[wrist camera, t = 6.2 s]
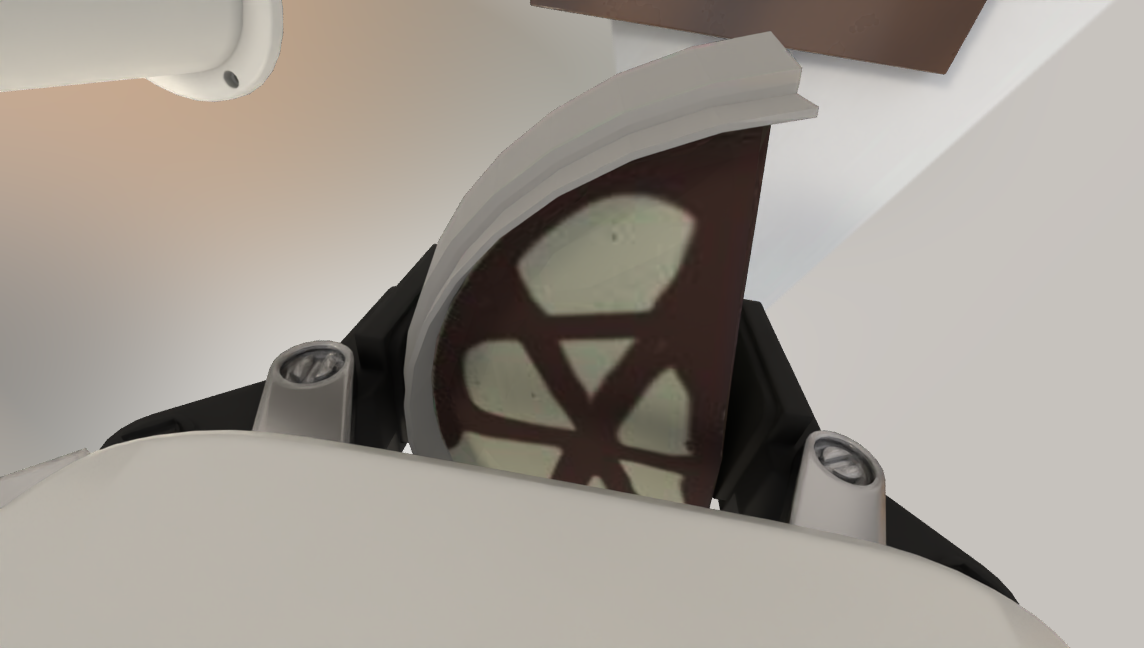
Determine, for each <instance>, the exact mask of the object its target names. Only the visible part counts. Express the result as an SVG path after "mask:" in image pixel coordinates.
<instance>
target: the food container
mask: <svg viewBox="0 0 1144 648" xmlns="http://www.w3.org/2000/svg"><path fill="white" fill-rule="evenodd" d="M801 72H802V67H801V66H800V65H799V64H798V63H797V61H796V60H795V59H794V58H793V57H792V55H791V54H790V53H789V52H788V51H787V50H786V48H785V47H784V46H783V45H782V44H781V43H780V41H779V40H778V39H777V38H776V37H775V36H774V34H773V33H772V32H771V31H768V32H763V33H758V34H753V35H748V36H743V37H738V38H733V39H728V40H723V41H718V42H713V43H707V44H702V45H697V46H692V47H689V48H687V49H684V50H681V51H678V52H676V53H673V54H670V55H668V56H665V57H662V58H659V59H657V60H654V61H651V62H649V63H646V64H643V65H640V66H638V67H635V68H632V69H629V70H627V71H624V72H621V73H619V74H616V75H614V76H613V77H611V78H609V79H607V80H606V81H604V82H602V83H600V84H599V85H597V86H595V87H593V88H592V89H590V90H588V91H586V92H584V93H583V94H581V95H579V96H578V97H576V98H574V99H572V100H570V101H569V102H567V103H565V104H564V105H562V106H560V107H558V108H556V109H555V110H553V111H551V112H550V113H549V114H548V115H547V116H545V117H544V118H543V119H542V120H540V121H539V122H538V123H537V124H536V125H534V126H533V127H532V128H531V129H529V130H528V131H527V132H526V133H525V134H523V135H522V136H521V137H520V138H519V139H517V140H516V141H515V142H514V143H512V144H511V145H510V146H509V147H508V148H506V149H505V150H504V151H503V152H501V154H500V155H499V156H498V157H497V158H496V159H495V161H494V162H493V163H492V164H491V165H490V167H489V168H488V169H487V170H486V171H485V172H484V173H483V175H482V176H481V177H480V178H479V179H478V181H477V182H476V183H475V184H474V185H473V186H472V188H471V189H470V190H469V191H468V192H467V193H466V195H465V196H464V197H463V199H462V201H461V202H460V204H459V206H458V208H457V209H456V211H455V213H454V215H453V216H452V218H451V220H450V222H449V223H448V225H447V227H446V229H445V230H444V232H443V234H442V236H441V237H440V239H439V241H438V244H437V247H436V250H435V253H434V256H433V259H432V262H431V265H430V268H429V271H428V274H427V277H426V280H425V283H424V286H423V288H422V291H421V294H420V297H419V300H418V303H417V306H416V309H415V312H414V315H413V318H412V321H411V324H410V327H409V330H408V337H407V346H406V355H405V364H404V381H405V399H404V411H405V419H406V427H407V436H408V442H409V445H410V447H411V450H412V453H413V455H419V456H425V457H430V458H436V459H441V460H447V461H453V462H458V463H464V464H470V465H475V466H481V467H487V468H492V469H498V470H504V471H509V472H515V473H520V474H526V475H531V476H537V477H542V478H548V479H553V480H559V481H564V482H570V483H575V484H581V485H586V486H591V487H597V488H602V489H608V490H613V491H619V492H624V493H630V494H635V495H640V496H646V497H651V498H657V499H662V500H667V501H672V502H678V503H683V504H688V505H694V506H699V507H704V508H710V504H711V500H712V497H713V493H714V490H715V486H716V482H717V477H718V473H719V469H720V465H721V461H722V455H723V446H724V437H725V429H726V420H727V411H728V402H729V394H730V387H731V380H732V373H733V365H734V358H735V351H736V344H737V337H738V330H739V323H740V317H741V310H742V304H743V298H744V292H745V286H746V279H747V273H748V267H749V261H750V255H751V249H752V242H753V236H754V230H755V224H756V218H757V211H758V205H759V198H760V192H761V186H762V179H763V173H764V166H765V160H766V154H767V147H768V141H769V135H770V128H771V125H772V124H778V123H784V122H790V121H797V120H803V119H809V118H815V117H817V115H818V110H819V107H818V106H816V105H815V104H813V103H812V102H810V101H808V100H807V99H805V98H804V97H802V96H801V95H799V94H797V91H798V87H799V83H800V78H801Z"/></svg>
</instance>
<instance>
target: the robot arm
mask: <svg viewBox="0 0 1144 648" xmlns="http://www.w3.org/2000/svg"><path fill="white" fill-rule="evenodd" d="M282 37H283V6H282V0H0V92H5V91H15V90H25V89H35V88H45V87H54V86H66V85H76V84H85V83H96V82H105V81H116V80H126V79H136V78H146V79H147V80H149V81H151V82H152V83H154V84H155V85H157V86H159V87H161V88H163V89H165V90H168V91H170V92H172V93H174V94H176V95H179V96H183V97H186V98H190V99H193V100H197V101H212V102H216V101H224V100H231V99H236V98H238V97H242V96H245V95H248V94H250V93H251V92H253V91H254V90H256V89H257V88H258V87H260V86H261V85H263V83H264V82H265V80H266V79H267V78H268V77H269V75H270V74H271V73H272V71H273V69H274V67H275V64H276V61H277V59H278V57H279V54H280V48H281V43H282ZM436 247H437V244H434V245H432V246H431V248H430V249H429V250H428V251H427V252H426V253H425V254H424V256H423V257H422V258H421V259H420V260H419V261H418V262H417V263H416V265H415V266H414V267H413V268H412V269H411V270H410V271H409V272H408V274H407V275H406V276H405V277H404V278H403V279H402V280H401V281H400V283H399V284H398V285H397V286H394V287H391V288H390V289H388V291H387V292H386V293H385V294H384V295H383V296H382V297H381V298H380V299H379V301H378V302H377V303H376V304H375V305H374V306H373V307H372V308H371V309H370V310H369V312H368V313H367V314H366V315H365V316H364V317H363V319H361V320H360V322H359V323H358V324H357V325H356V326H355V327H354V328H353V329H352V330H351V331H350V333H349V334H348V335H347V336H346V337H345V338H344V339H343V340H342V341H341V343H338V342H333V341H313V342H306V343H303V344H300V345H297V346H294V347H292V348H290V349H288V350H286V351H284V352H283V353H281V354H280V355H279V356H278V357H277V358H276V359H275V360H274V361H273V363H272V365H271V367H270V369H269V372H268V376H267V379H266V380H265V381H262V382H259V383H255V384H252V385H249V386H245V387H242V388H238V389H235V390H232V391H228V392H225V393H222V394H218V395H215V396H212V397H209V398H205V399H202V400H198V401H195V402H192V403H189V404H185V405H182V406H179V407H175V408H172V409H168V410H165V411H162V412H158V413H155V414H152V415H149V416H146V417H144V418H141V419H139V420H136V421H134V422H132V423H130V424H129V425H127V426H125V427H123V428H121V429H120V430H119V431H117V432H116V433H115V434H114V435H112V436H111V437H110V438H109V439H107V441H106V442H105V443H104V444H103V446H102V447H101V448H100V450H98V451H96V452H93V453H90V452H89V451H88V450H87V449H86V448H84V449H81V450H78V451H76V452H73V453H70V454H67V455H64V456H61V457H58V458H55V459H52V460H49V461H46V462H43V463H40V464H37V465H35V466H31V467H28V468H25V469H22V470H19V471H16V472H14V473H10V474H8V475H5V476H2V477H0V648H1070V647H1069V646H1068V645H1067V644H1066V643H1065V642H1064V641H1063V640H1062V639H1061V638H1060V637H1059V636H1058V635H1057V634H1056V633H1055V632H1054V631H1053V630H1052V629H1051V628H1049V627H1048V626H1047V625H1046V624H1045V623H1043V622H1042V621H1041V620H1040V619H1039V618H1037V617H1036V616H1035V615H1033V614H1032V613H1030V612H1029V611H1027V610H1026V609H1025V608H1023V607H1021V606H1020V605H1019V603H1018V602H1017V600H1016V599H1015V597H1014V596H1013V594H1012V593H1011V592H1010V591H1009V589H1008V588H1007V587H1006V586H1005V585H1004V584H1003V583H1002V582H1001V581H1000V580H999V579H998V578H997V577H996V576H995V575H994V574H992V573H991V572H990V571H989V570H987V569H986V568H985V567H984V566H983V565H981V564H980V563H979V562H977V561H976V560H974V559H973V558H972V557H970V556H969V555H968V554H966V553H965V552H963V551H962V550H961V549H959V548H958V547H957V546H955V545H954V544H953V543H951V542H950V541H948V540H947V539H946V538H944V537H943V536H942V535H940V534H939V533H937V532H936V531H935V530H933V529H932V528H930V527H929V526H928V525H926V524H925V523H924V522H922V521H921V520H920V519H918V518H917V517H915V516H914V515H913V514H911V513H910V512H908V511H907V510H906V509H905V508H903V507H902V506H900V505H899V504H898V503H896V502H895V501H893V500H892V499H891V498H889V497H888V496H886V495H885V477H884V473H883V470H882V468H881V466H880V465H879V463H878V461H877V460H876V459H875V458H874V457H873V455H872V454H871V453H870V452H869V451H868V450H866V449H865V448H864V447H863V446H861V445H860V444H859V443H857V442H855V441H854V440H852V439H850V438H848V437H846V436H844V435H841V434H839V433H836V432H831V431H825V430H823V431H821V430H820V427H819V426H818V423H817V421H816V419H815V417H814V415H813V413H812V410H811V408H810V406H809V404H808V402H807V400H806V398H805V396H804V393H803V391H802V389H801V387H800V385H799V383H798V381H797V378H796V376H795V374H794V372H793V370H792V368H791V366H790V363H789V362H788V360H787V358H786V355H785V353H784V351H783V349H782V347H781V345H780V343H779V341H778V339H777V336H776V334H775V332H774V330H773V328H772V326H771V323H770V321H769V319H768V317H767V315H766V313H765V311H764V308H763V306H762V304H761V303H760V302H757V301H752V300H746V299H743V304H742V310H741V317H740V323H739V330H738V337H737V344H736V351H735V358H734V365H733V373H732V380H731V387H730V394H729V402H728V411H727V420H726V429H725V437H724V446H723V455H722V461H721V465H720V469H719V473H718V477H717V482H716V486H715V490H714V493H713V498H714V499H718V502H719V507H720V510H715V509H710V508H704V507H699V506H694V505H688V504H683V503H678V502H672V501H667V500H662V499H657V498H651V497H646V496H640V495H635V494H630V493H624V492H619V491H613V490H608V489H602V488H597V487H591V486H586V485H581V484H575V483H570V482H564V481H559V480H553V479H548V478H542V477H537V476H531V475H526V474H520V473H515V472H509V471H504V470H498V469H492V468H487V467H481V466H475V465H470V464H464V463H458V462H453V461H447V460H441V459H436V458H430V457H425V456H419V455H413V454H408V453H402V451H403V449H404V447H405V446H406V444H407V443H409V442H408V436H407V427H406V419H405V411H404V399H405V381H404V364H405V355H406V346H407V337H408V330H409V327H410V324H411V321H412V318H413V315H414V312H415V309H416V306H417V303H418V300H419V297H420V294H421V291H422V288H423V286H424V283H425V280H426V277H427V274H428V271H429V268H430V265H431V262H432V259H433V256H434V253H435V250H436Z"/></svg>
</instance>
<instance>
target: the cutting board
mask: <svg viewBox="0 0 1144 648" xmlns="http://www.w3.org/2000/svg"><path fill="white" fill-rule="evenodd" d="M986 1H987V0H530V5H531V6H536V7H541V8H548V9H554V10H559V11H565V12H572V13H577V14H584V15H589V16H596V17H602V18H607V19H613V20H619V21H625V22H631V23H637V24H643V25H649V26H655V27H661V28H667V29H673V30H679V31H685V32H691V33H697V34H703V35H709V36H715V37H721V38H727V39H733V38H738V37H743V36H748V35H753V34H758V33H763V32H768V31H771V32H772V33H773V34H774V36H775V37H776V38H777V39H778V40H779V41H780V43H781V44H782V45H783V46H784V47H785V48H787V49H792V50H798V51H804V52H810V53H816V54H822V55H828V56H834V57H840V58H846V59H852V60H858V61H864V62H870V63H876V64H882V65H888V66H894V67H900V68H906V69H912V70H918V71H924V72H930V73H937V74H943V75H944V74H946V73H947V71H948V69H949V67H950V65H951V64H952V62H953V60H954V58H955V56H956V55H957V53H958V51H959V49H960V47H961V46H962V44H963V42H964V40H965V38H966V37H967V35H968V33H969V31H970V29H971V28H972V26H973V24H974V22H975V20H976V19H977V17H978V15H979V13H980V12H981V10H982V8H983V6H984V4H985V3H986Z"/></svg>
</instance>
